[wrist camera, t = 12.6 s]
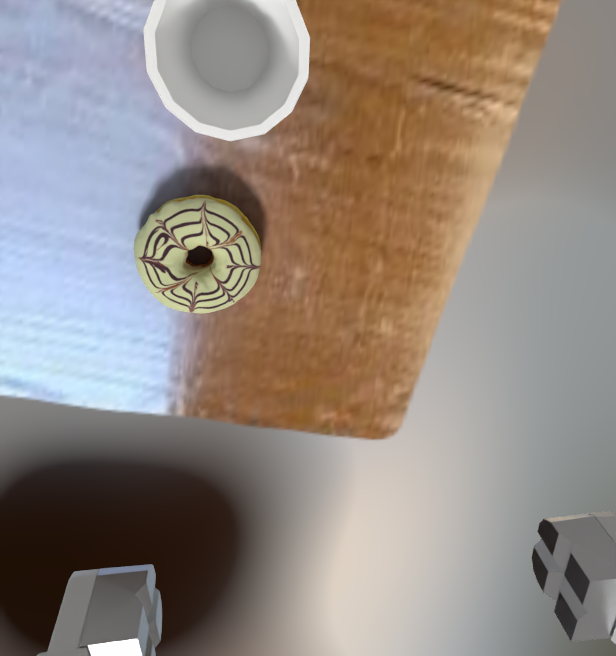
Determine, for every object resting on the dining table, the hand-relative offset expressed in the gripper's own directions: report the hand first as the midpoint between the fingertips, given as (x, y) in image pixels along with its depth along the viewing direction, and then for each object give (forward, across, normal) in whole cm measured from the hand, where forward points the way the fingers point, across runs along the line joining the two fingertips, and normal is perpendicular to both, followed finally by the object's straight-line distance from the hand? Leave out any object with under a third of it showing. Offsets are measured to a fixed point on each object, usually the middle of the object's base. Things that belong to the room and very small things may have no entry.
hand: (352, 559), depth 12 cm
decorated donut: (+41, +6, +8) cm, 42 cm away
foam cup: (+41, +2, -8) cm, 42 cm away
